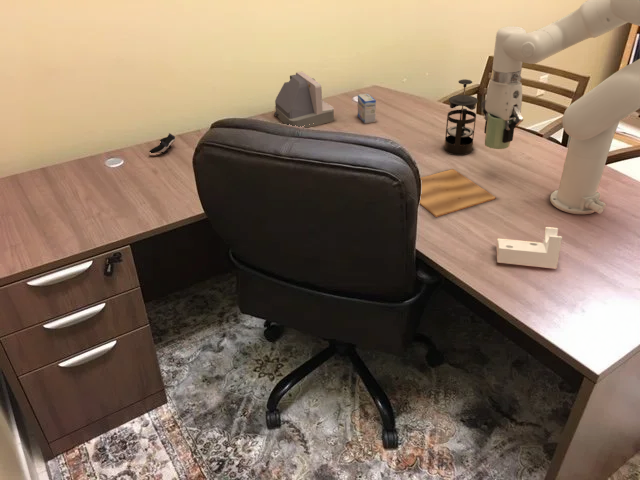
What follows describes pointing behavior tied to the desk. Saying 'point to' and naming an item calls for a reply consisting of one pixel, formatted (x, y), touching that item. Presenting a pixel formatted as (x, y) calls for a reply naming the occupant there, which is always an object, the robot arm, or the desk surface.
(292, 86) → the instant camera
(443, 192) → the mat
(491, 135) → the pot
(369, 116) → the medicine box
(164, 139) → the black shoe
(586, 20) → the robot arm
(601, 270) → the desk surface
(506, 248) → the bracket
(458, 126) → the french press
